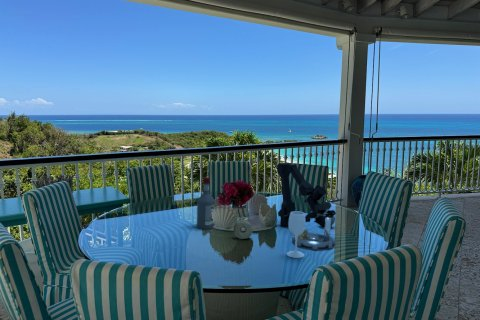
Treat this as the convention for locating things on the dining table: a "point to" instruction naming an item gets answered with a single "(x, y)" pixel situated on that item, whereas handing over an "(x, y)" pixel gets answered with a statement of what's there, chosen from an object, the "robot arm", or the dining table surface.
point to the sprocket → (317, 238)
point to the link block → (303, 234)
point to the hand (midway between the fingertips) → (327, 229)
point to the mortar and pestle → (331, 220)
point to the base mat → (315, 249)
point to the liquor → (205, 207)
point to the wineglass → (296, 230)
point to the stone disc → (243, 234)
